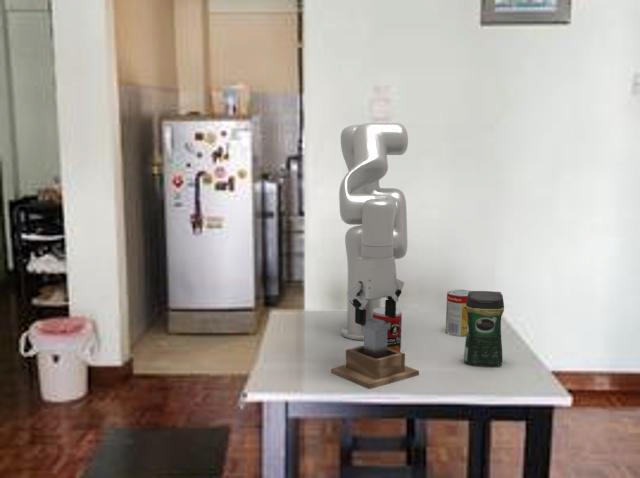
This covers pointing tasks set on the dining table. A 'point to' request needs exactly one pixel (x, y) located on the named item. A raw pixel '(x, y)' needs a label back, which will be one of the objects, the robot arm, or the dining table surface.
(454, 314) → the canned food
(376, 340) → the grey boxy piece
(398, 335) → the canned food
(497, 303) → the coffee jar
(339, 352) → the dining table surface
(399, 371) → the well block
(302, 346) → the dining table surface
